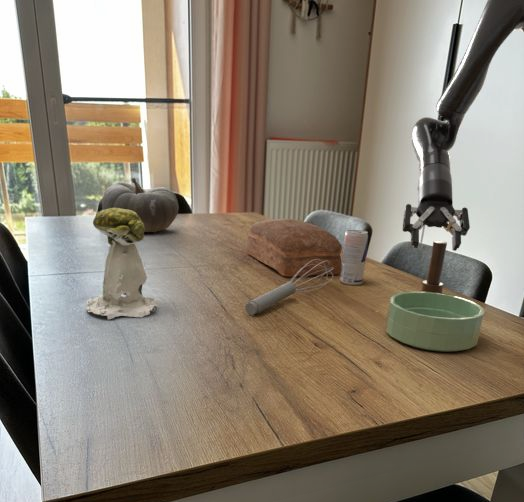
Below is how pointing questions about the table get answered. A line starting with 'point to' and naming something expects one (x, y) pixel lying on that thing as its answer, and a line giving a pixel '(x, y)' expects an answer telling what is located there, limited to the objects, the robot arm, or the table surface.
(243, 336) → the table surface
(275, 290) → the kitchen whisk
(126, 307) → the mushroom
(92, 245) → the table surface
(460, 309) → the bowl
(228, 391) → the table surface
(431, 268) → the pestle
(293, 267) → the bread
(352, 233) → the energy drink
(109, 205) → the gourd
